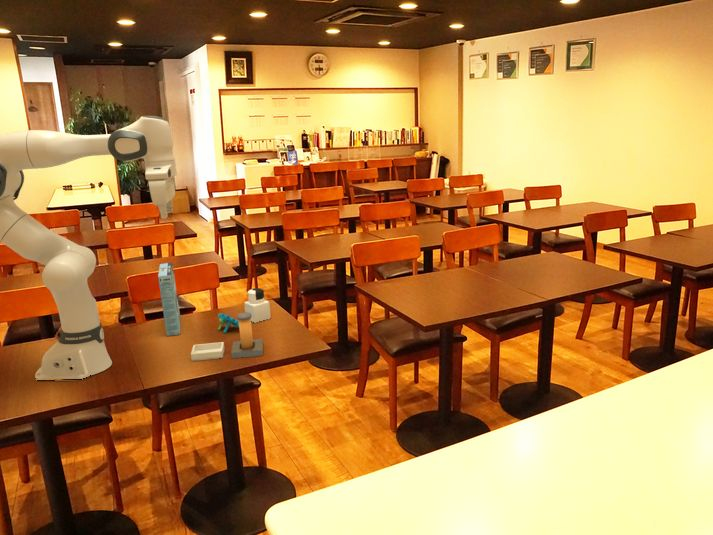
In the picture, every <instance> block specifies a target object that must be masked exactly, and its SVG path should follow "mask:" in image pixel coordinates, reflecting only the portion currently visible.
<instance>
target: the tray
mask: <svg viewBox="0 0 713 535" xmlns="http://www.w3.org/2000/svg"><path fill="white" fill-rule="evenodd" d="M224 354H225V342H224V341H221V342H211V343H210V342H209V343H200V344H198V343H197V344H193V346H192V348H191V352H190V359H191V362H197V361H199V362H200V361H207V360H218V359H219V358H221V359H223V358H224Z"/></svg>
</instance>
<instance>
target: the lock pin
mask: <svg viewBox="0 0 713 535" xmlns="http://www.w3.org/2000/svg"><path fill="white" fill-rule="evenodd" d="M251 318H252V314H251V313H248V312H245V311H244V312H239V313H238V314H237V315H236V320H238V321H239V327H238V328H239V330H238V331H239V336H240V341H241V349H247V348H253V340H254V339H253V338H254V337H253V328H252V322H251Z"/></svg>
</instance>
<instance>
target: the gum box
mask: <svg viewBox="0 0 713 535" xmlns="http://www.w3.org/2000/svg"><path fill="white" fill-rule="evenodd" d="M158 268H159V269H158V274H157V279H158V285H159V290H160V298H161V306H162V313H163V319H164V324H165V325H164V326H165V334H166V336H167V337H172V336H177V335H180V334H181V313H180V306H179V300H178V299H179V298H178V292H177V285H176V279H175V271H174V265H173V262H165V263H160V264H159V267H158Z"/></svg>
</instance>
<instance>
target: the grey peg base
mask: <svg viewBox="0 0 713 535" xmlns="http://www.w3.org/2000/svg"><path fill="white" fill-rule="evenodd" d="M263 341H264V340H263V338H257V339H253V348H247V349H241V340H235V341H232V346H231V351H230V353H231V359H232V358H233V359H240V358H241V357H243V358H249V357H250V358H251V357H261V356H263V355H264V354H263V352H264V350H263V349H264V342H263ZM254 347H255V348H254ZM241 359H242V358H241Z"/></svg>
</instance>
